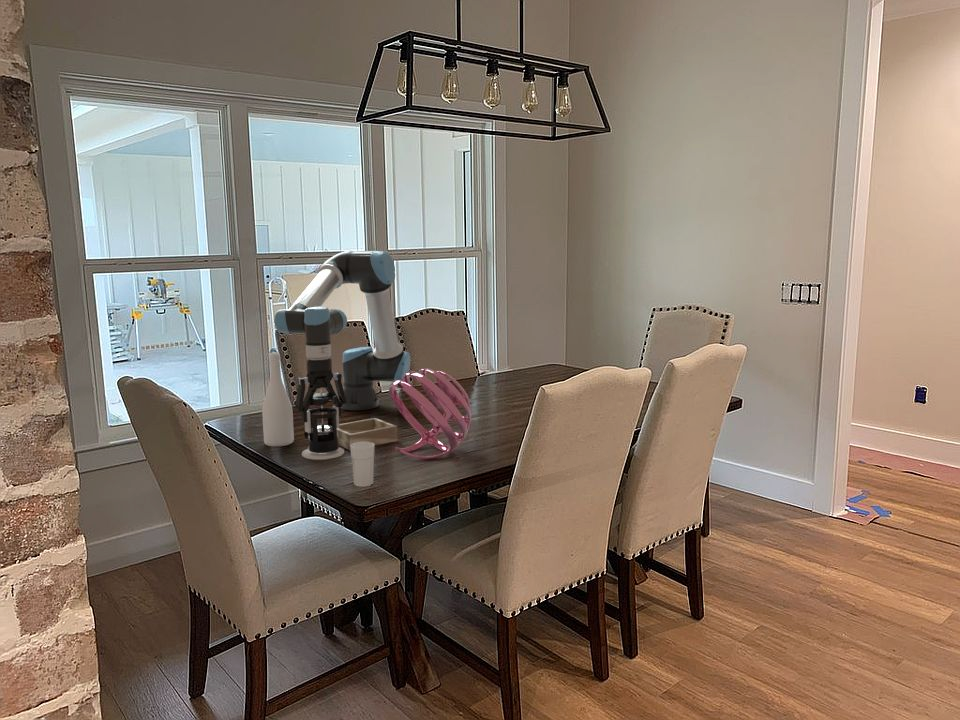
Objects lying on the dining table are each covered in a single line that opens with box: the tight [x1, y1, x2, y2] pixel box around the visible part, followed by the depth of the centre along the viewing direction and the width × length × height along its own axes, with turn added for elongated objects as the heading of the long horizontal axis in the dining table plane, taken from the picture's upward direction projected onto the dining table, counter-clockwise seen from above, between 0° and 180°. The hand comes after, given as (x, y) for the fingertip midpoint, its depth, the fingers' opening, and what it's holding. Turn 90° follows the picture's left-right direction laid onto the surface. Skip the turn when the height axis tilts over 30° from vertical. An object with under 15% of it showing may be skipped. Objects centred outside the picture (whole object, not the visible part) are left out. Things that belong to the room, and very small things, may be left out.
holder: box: [337, 417, 398, 451], centre depth 252 cm, size 14×17×5 cm
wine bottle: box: [261, 351, 295, 447], centre depth 247 cm, size 10×10×30 cm
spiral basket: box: [388, 367, 472, 460], centre depth 235 cm, size 28×28×27 cm
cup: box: [349, 442, 375, 488], centre depth 209 cm, size 7×7×11 cm
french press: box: [303, 376, 340, 453], centre depth 235 cm, size 12×9×23 cm
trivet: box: [301, 446, 345, 461], centre depth 238 cm, size 13×13×1 cm
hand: (322, 429), depth 237 cm, fingers closed on french press, 9 cm apart
